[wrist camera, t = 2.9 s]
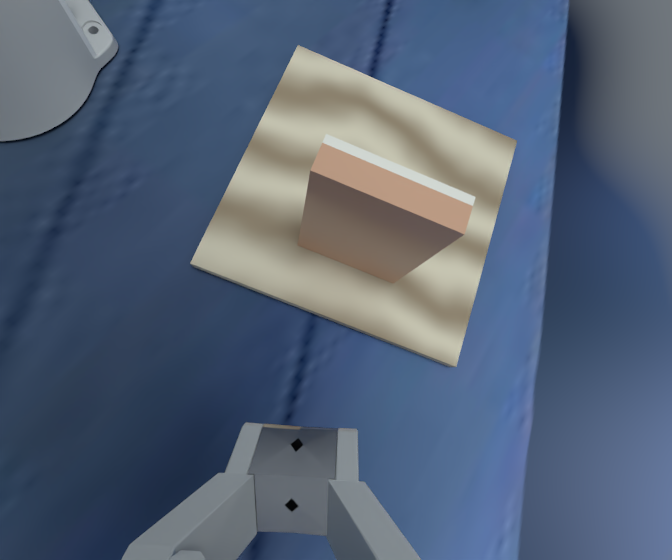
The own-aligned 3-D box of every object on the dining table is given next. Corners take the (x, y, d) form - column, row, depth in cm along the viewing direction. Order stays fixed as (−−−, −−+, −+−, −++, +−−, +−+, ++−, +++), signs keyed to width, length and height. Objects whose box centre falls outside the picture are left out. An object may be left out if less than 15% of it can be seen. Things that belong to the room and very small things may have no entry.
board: (449, 366, 33) (456, 366, 32) (193, 266, 32) (190, 263, 31) (510, 147, 39) (517, 140, 38) (297, 54, 38) (298, 45, 37)
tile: (297, 245, 32) (310, 170, 20) (307, 221, 33) (326, 133, 20) (393, 283, 33) (464, 234, 20) (401, 259, 33) (475, 196, 21)
